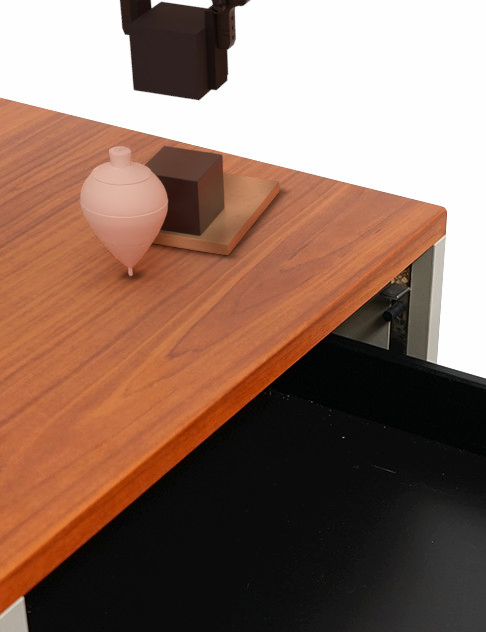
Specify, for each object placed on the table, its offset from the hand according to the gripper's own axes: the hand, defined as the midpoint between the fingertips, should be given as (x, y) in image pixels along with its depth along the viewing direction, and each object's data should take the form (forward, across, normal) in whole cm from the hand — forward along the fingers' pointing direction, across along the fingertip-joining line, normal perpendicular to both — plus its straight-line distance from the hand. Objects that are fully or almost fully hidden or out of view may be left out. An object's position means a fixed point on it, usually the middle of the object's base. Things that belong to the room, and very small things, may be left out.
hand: (181, 78), depth 121 cm
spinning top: (+17, +4, +5) cm, 18 cm away
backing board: (+17, +3, -10) cm, 20 cm away
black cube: (0, 0, 0) cm, 0 cm away
